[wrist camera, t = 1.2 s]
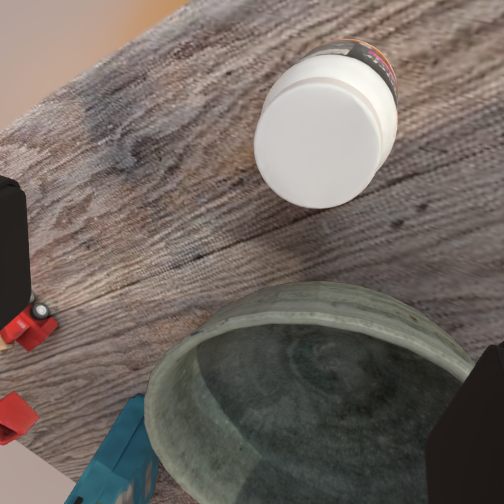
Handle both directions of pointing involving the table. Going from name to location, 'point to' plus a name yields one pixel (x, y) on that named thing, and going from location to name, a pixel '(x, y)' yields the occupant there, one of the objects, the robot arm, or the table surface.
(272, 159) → the pill bottle
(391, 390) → the bowl
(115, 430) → the handheld gaming console
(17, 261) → the robot arm
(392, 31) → the table surface
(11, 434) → the toy fire truck
